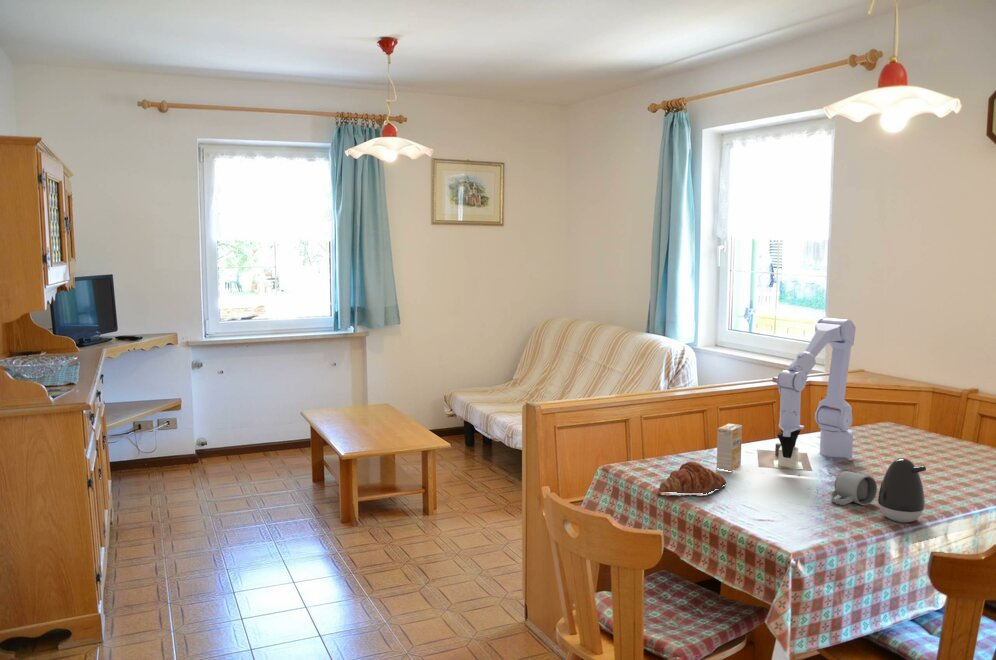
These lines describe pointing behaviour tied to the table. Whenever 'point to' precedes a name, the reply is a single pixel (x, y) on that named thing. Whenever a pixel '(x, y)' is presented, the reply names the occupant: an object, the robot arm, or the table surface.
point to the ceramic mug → (854, 488)
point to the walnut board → (771, 460)
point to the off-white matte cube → (788, 461)
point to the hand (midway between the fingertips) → (788, 454)
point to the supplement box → (729, 446)
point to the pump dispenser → (902, 491)
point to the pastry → (692, 480)
